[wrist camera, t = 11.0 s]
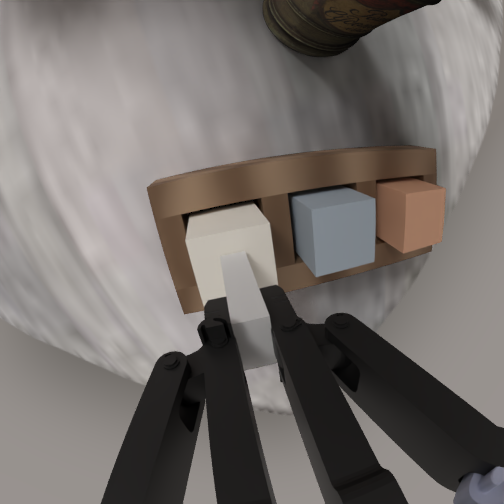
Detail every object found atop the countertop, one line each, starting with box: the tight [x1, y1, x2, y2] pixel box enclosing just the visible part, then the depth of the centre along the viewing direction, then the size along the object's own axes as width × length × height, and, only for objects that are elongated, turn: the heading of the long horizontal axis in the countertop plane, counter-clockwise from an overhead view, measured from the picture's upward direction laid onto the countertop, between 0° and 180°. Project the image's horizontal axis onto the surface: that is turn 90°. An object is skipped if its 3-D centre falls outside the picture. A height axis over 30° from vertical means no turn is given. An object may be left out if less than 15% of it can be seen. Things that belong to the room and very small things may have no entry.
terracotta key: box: [376, 177, 446, 253], centre depth 22 cm, size 5×5×6 cm
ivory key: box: [185, 201, 278, 306], centre depth 19 cm, size 5×5×6 cm
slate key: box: [287, 185, 376, 277], centre depth 21 cm, size 5×5×6 cm
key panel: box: [147, 145, 437, 314], centre depth 23 cm, size 26×11×4 cm, turn 99°
